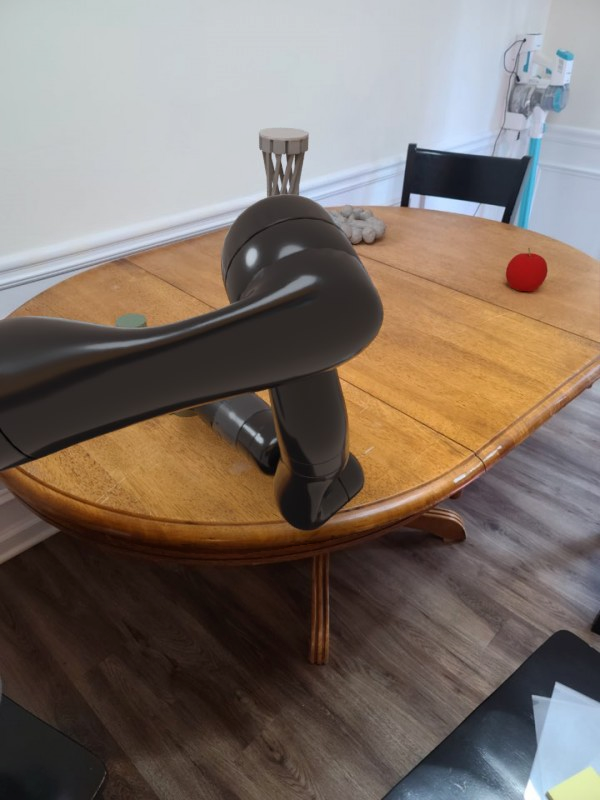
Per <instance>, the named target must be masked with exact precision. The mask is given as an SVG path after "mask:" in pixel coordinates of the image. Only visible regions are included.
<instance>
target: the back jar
mask: <svg viewBox="0 0 600 800" xmlns="http://www.w3.org/2000/svg"><path fill="white" fill-rule="evenodd" d="M115 326H118V327H148V322H147V317H146V316H145V315H143V314H140V313H127V314H123V315H120V316H118V317H117V318H116V320H115Z"/></svg>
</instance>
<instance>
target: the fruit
mask: <svg viewBox="0 0 600 800" xmlns="http://www.w3.org/2000/svg"><path fill="white" fill-rule="evenodd" d="M527 250H528V252H526V253H517V254H516V255H514V256H513V257H512V258H511V259H510V260H509V262H508V264H507V266H506V270H505V279H506V282H507V284H508V285H509V287H510V288H512V289H514V290H517V291H519V292H529V293H531V292H534V291H536V290H537V289H538V288H539V287H541V286H542V284H543V283H544V282H545V281H546V278H547V276H548V271H549V270H548V264H547V261H546V259H545V258H544V257H543V256H541V255H539V254H537V253H532V252H531V247H528V248H527Z"/></svg>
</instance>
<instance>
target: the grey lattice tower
mask: <svg viewBox="0 0 600 800" xmlns="http://www.w3.org/2000/svg"><path fill="white" fill-rule="evenodd" d="M309 134H310V133H309V132H308V131H307V130H304V129H300V128H295V127H294V128H293V127H269V128H263V129H260V130H259V131H258V149H259V150H260V151H261V153H262V159H263V164H264V170H265V176H266V198H267V197H270V196H275V195H281V194H295V195H299V196H300V183H301V177H302V172H303V166H304V160H305V155H306V154H305V153H306V152H308V151H309V139H310V138H309ZM273 155H274V157H275V165H274V162H273ZM283 155H284V156H285V158H286V159H285V160H286V166H285V170H284V169H283V163H282V158H283ZM293 163H294V168H293ZM279 179H280V185H281V187H280V186H279ZM288 185H289V188H288V187H287V186H288Z"/></svg>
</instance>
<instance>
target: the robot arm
mask: <svg viewBox="0 0 600 800" xmlns="http://www.w3.org/2000/svg"><path fill="white" fill-rule="evenodd" d="M328 211H329V210H328V209H326V208H325V207H324V206H323V205H322V204H320V203H319V202H317V201H315V200H313V199H311V198H309V197H307V196H302V195H300V194H299V195H295V194H281V195H275V196H270V197H267V196H266V197H264V198H262V199H259V200H257V201H256V202H254V203H253V204H251V205H249V206H247V208H245V209H244V210H243V211H242V212H241V213H240V214H239V215H238V216H237V217H236V218H235V220H234V221H233V222H232V224H231V225H230V227H229V229H228V231H227V233H226V235H225V237H224V239H223V244H222V247H221V255H220V270H221V278H222V283H223V287H224V290H225V294H226V296H227V300H228V303H229V304H228V305H225V306H223V307H220V308H217V309H213V310H212V311H209V312H205V313H202V314H199V315H195V316H192V317H188V318H185V319H180V320H177V321H174V322H169V323H165V324H160V325H152V326H147V327H118V326H116V325H110V324H109V325H107V324H102V323H97V322H90V321H85V320H79V319H71V318H65V317H56V316H55V317H54V316H48V315H47V316H46V315H21V316H20V315H19V316H12V317H7V318H3V319H0V473H2V472H5V471H8V470H11V469H14V468H17V467H20V466H22V465H26V464H29V463H32V462H35V461H37V460H40V459H43V458H46V457H48V456H51V455H54V454H57V453H59V452H61V451H63V450H66V449H68V448H71V447H73V446H77V445H79V444H81V443H84V442H88V441H90V440H94V439H96V438H100V437H103V436H105V435H108V434H112V433H115V432H117V431H121V430H124V429H127V428H129V427H133V426H135V425H139V424H142V423H145V422H149V421H152V420H156V419H158V418H162V417H164V416H165V417H166V416H174V414H175V412H178V411H182V410H185V409H188V410H189V411H193V412H195V413H196V414H197V415H198V416H197V417H198V418H199V419H200V420H201V421H202V423H204V425H205V426H207V427H208V428H209V429H210V430H211V431H212V432H213V433H214V434H215V435H216V436H217V438H219V440H221V441H222V442H224V444H226V445H227V446H228V447H229V448H230V449H231V450H233V451H235V452H236V453H238V454H239V455H240V456H241V457H242V458H243V459H244V460H245V461H247V462H248V464H250V465H251V466H252V467H253V468H254V469H255V470H256V471H257V472H258V473H260V474H261V475H262V476H264V477H267V478H273V483H272V494H273V500H274V503H275V506H276V508H277V510H278V512H279V514H280V516H281V517H282V518H283V519H284V521H285V522H286V524H287V525H288V524H289V526H291V527H292V528H294V529H297V530H300V531H305V532H309V531H314V530H315V531H316V530H317V529H319V528H321V527H322V526H323V525H325V524H326V523H327V522H328V521H330V520H331V519H332V518H333V517H334V516H335V515H336V514H337V513H339V512H340V511H341V510H342V509H343V508H344V507H346V506H347V505H348V504H349V503H350V502H351V501H352V500H354V499H355V498H356V497H357V496H358V495H359V494H360V493H361V491H362V490H363V489H364V486H365V483H366V475H365V471H364V467H363V465H362V463H361V462H360V460H359V459H358V457H357V456H356V455H355V454H354V453H353V452H352V451H351V450H350V425H349V414H348V409H347V404H346V399H345V396H344V392H343V388H342V384H341V379H340V376H339V372H338V368H339V367H341V366H343V365H345V364H346V363H348V362H350V361H352V360H353V359H355V358H357V357H358V356H359V355H361V354H362V353H363V352H364V351H366V349H367V348H368V347H369V346H370V345H371V344H372V343H373V342H374V341H375V339H376V338H377V336H379V333H380V330H381V329H382V326H383V322H384V317H385V316H384V315H385V313H384V305H383V302H382V299H381V296H380V293H379V291H378V290H377V288H376V285H375V284H374V282H373V280H372V278H371V276H370V274H369V273H368V270H367V269H366V267H365V265H364V263H363V262H362V260H361V259H360V256H359V255H358V253H357V251H356V250H355V248H354V246H353V243H351V242H350V240H349V239H348V237H347V235H346V233H345V232H344V230H343V229H342V227H341V226H340V225H339V223H338V222H337V221H336V219H335V218H334V217H333V216H332V215H331V214H330V212H331V211H330V212H328ZM264 391H267V392H268V397H269V403H268V402H267V401H266V400H264V398H262V397H261V396H260V395H258V394H257V393H259V392H264Z"/></svg>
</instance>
